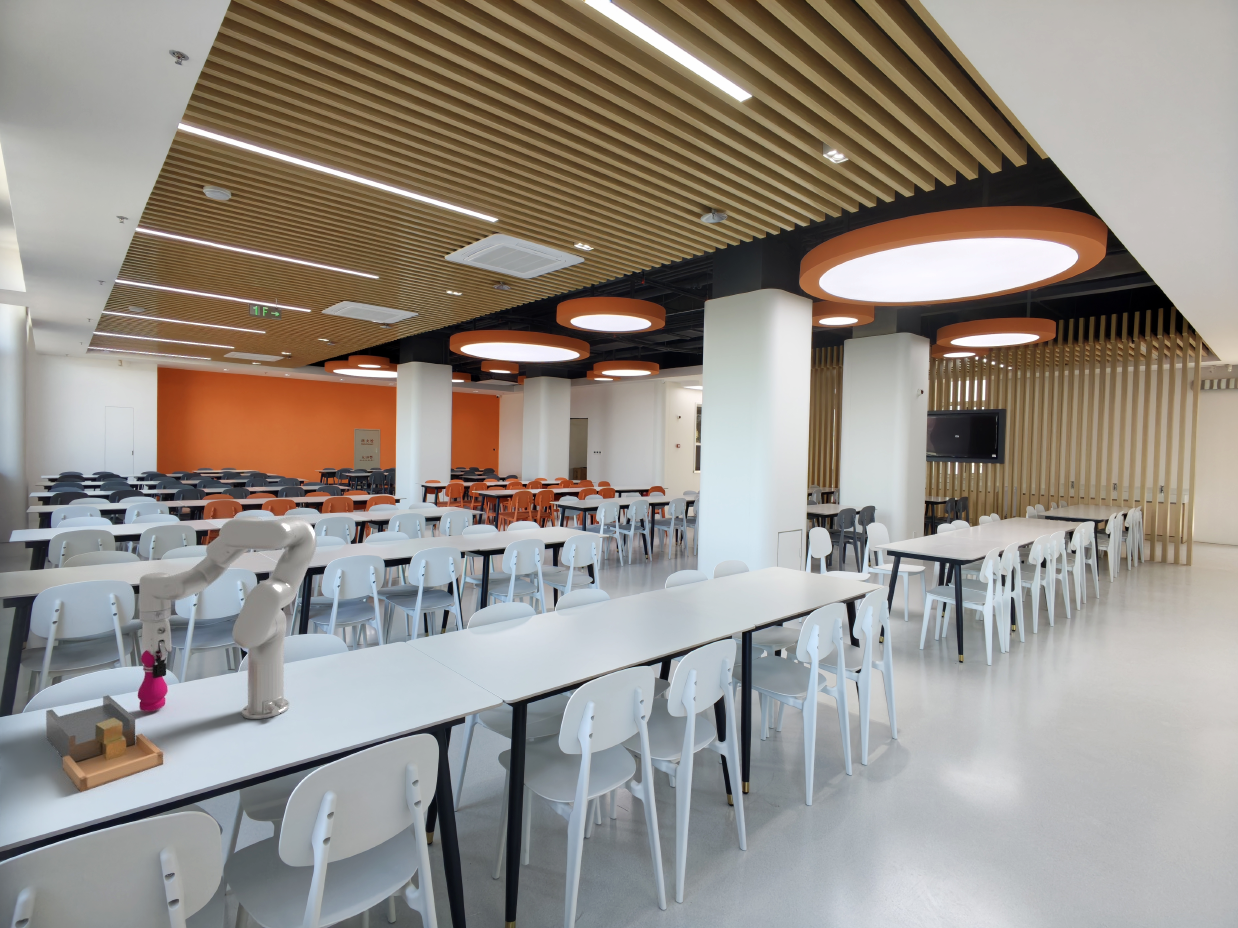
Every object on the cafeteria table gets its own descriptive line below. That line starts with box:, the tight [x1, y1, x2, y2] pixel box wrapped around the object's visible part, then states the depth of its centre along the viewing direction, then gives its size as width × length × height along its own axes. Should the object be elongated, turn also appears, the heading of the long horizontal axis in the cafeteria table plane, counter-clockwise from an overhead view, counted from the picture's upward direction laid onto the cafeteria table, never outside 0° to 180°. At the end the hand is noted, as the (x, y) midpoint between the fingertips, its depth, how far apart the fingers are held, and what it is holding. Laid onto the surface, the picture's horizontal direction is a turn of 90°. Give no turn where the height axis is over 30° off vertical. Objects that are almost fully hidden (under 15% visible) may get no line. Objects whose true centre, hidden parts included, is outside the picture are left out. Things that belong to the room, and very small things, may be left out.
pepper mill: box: [137, 650, 169, 712], centre depth 183 cm, size 7×7×20 cm
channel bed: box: [45, 695, 136, 763], centre depth 165 cm, size 24×13×8 cm, turn 53°
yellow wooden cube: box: [102, 735, 126, 761], centre depth 158 cm, size 4×4×4 cm
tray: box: [62, 733, 164, 793], centre depth 153 cm, size 16×16×3 cm
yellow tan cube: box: [95, 718, 123, 744], centre depth 158 cm, size 4×4×4 cm
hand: (155, 673), depth 183 cm, fingers closed on pepper mill, 5 cm apart
